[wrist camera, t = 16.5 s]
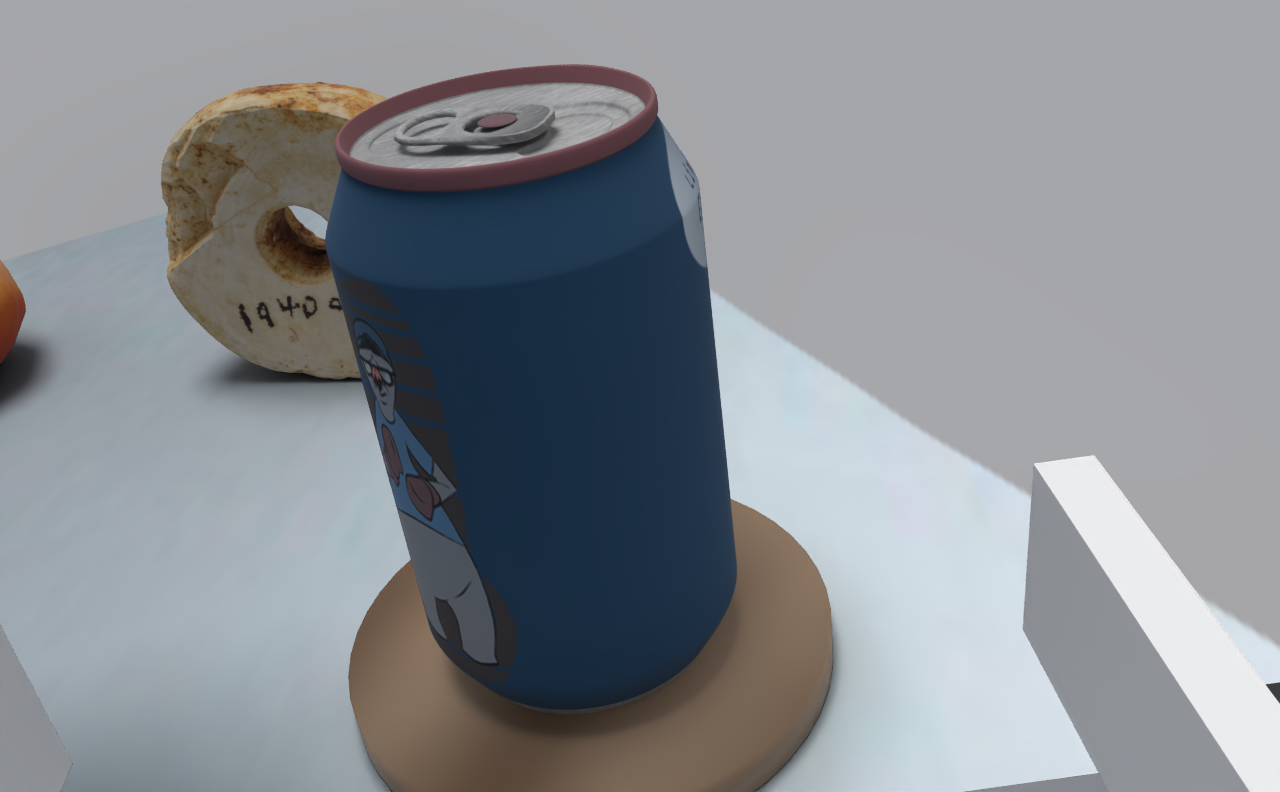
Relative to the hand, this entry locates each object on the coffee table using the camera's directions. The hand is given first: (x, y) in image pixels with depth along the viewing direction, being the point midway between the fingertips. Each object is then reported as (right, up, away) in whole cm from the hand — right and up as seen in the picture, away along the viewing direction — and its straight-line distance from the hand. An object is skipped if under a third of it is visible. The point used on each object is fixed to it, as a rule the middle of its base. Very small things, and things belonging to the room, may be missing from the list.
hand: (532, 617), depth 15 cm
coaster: (0, -3, +12) cm, 13 cm away
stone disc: (-9, +4, +27) cm, 28 cm away
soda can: (0, -3, +12) cm, 12 cm away
